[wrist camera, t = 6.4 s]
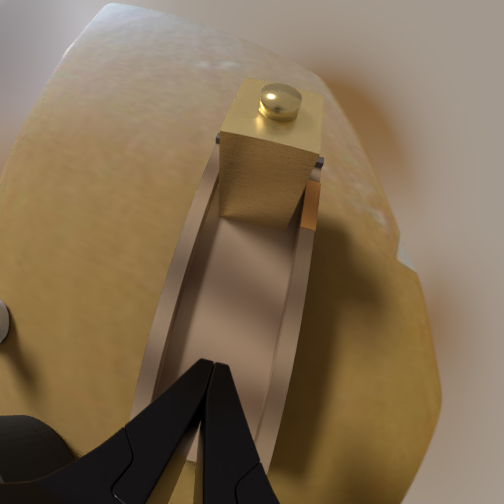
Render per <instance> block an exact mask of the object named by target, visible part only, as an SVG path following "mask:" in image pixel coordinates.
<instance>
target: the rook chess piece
mask: <svg viewBox="0 0 504 504" xmlns="http://www.w3.org/2000/svg"><path fill="white" fill-rule="evenodd" d="M8 330H9V314H8V311H7V309H6V306H5V304H4V303H3V302H2V301H1V300H0V343H1V342H2V340H3V339H4V338H5V337H6V335H7V332H8Z"/></svg>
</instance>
